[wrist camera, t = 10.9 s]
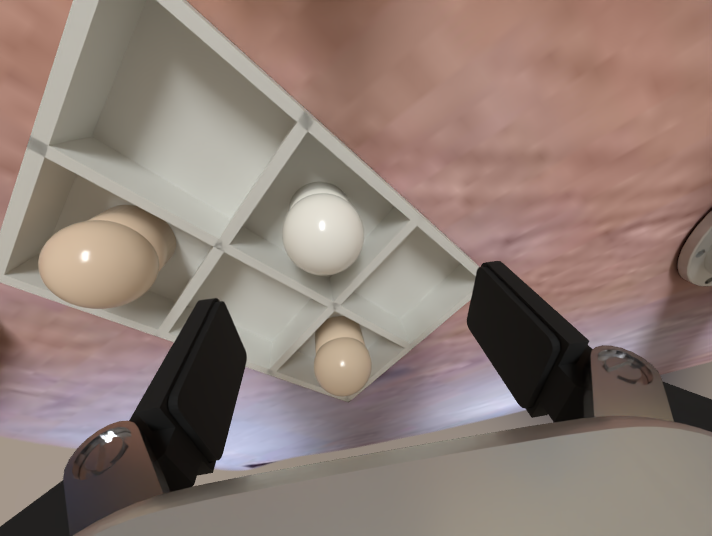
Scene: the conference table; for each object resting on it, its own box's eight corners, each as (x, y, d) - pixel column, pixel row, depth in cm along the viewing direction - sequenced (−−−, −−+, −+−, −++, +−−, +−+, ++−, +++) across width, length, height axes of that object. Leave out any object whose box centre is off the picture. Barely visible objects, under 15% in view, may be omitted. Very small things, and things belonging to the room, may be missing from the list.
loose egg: (368, 207, 19) (390, 246, 14) (326, 254, 20) (334, 304, 15) (312, 162, 17) (317, 190, 12) (271, 219, 18) (260, 264, 13)
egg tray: (469, 257, 23) (493, 280, 20) (343, 370, 28) (348, 402, 26) (148, -35, 12) (97, -76, 9) (39, 246, 17) (-15, 277, 14)
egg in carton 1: (190, 226, 17) (146, 274, 13) (166, 278, 19) (118, 339, 14) (105, 185, 15) (14, 224, 11) (86, 247, 17) (-1, 306, 12)
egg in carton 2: (373, 327, 25) (390, 382, 20) (341, 357, 26) (350, 415, 22) (334, 306, 23) (342, 361, 18) (302, 339, 24) (301, 399, 20)
